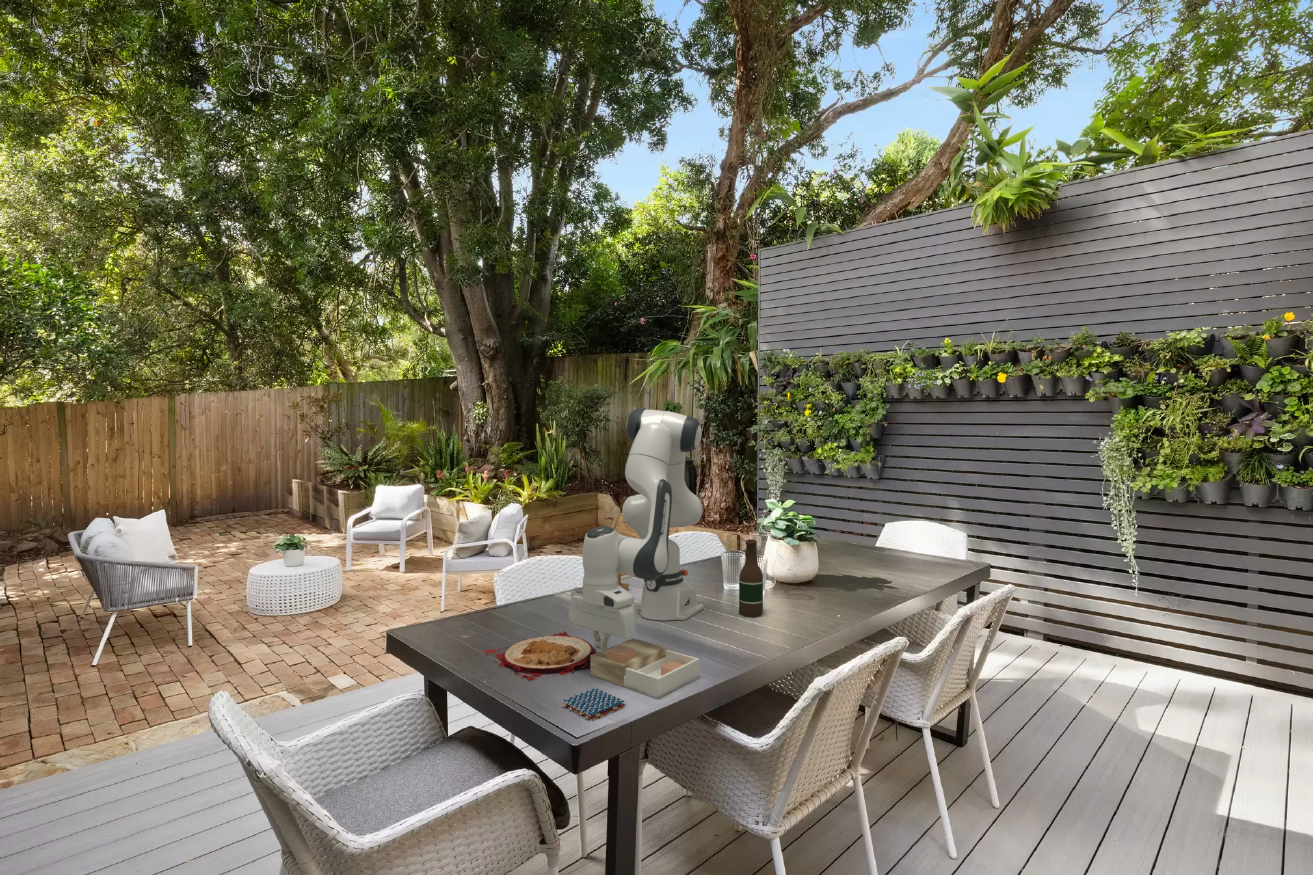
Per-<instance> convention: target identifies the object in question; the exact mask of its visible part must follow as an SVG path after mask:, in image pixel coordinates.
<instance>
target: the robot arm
mask: <svg viewBox="0 0 1313 875" xmlns="http://www.w3.org/2000/svg"><path fill="white" fill-rule="evenodd" d="M625 424H626V425H625V430H626V431H625V433H626V437H627V438H628V439H629V440H630V442H632V444H631V447H630V450H629V452H628V453H629V454H628V456H627V460H626V463H625V469H624V476H625V479H626V481H627V484H628V486H630V487H631V488H632V490H634V491H635V492H637V493H638V494H636V495H635V494H634V495H631V496H628V497H627V498H626V499H625V500H624V502H623V505H622V511H621V514H622V517H623V520H624V522H625V524H627V525H628V527H630V528H631V529H633V530H634V531H635V533H636V534H637V535H638V536H639V538H636V537H631V536H626V535H623V534H620V533H618V532H617V531H616V528H615V529H614V528H612V527H609V526H605V525H604V526H596V527H594V528H591V529H589V530H587V532H585V536H584V540H583V546H582V567H583V572H584V573H583V576H582V588H580V587H575V588H573V589H572V590H571V591H570V600H569V605H568V615H567V618H568V621H569V624H572V625H575V626H579V627H583V628H585V629H589V630H590V635H591V638H592V640H593V646H594V647H593V648H596V649H601V650H605V649H607V648H608V641H609V640H610V637H611V636H613V637H618V638H621V639H628V638H630V637H632V636H633V635H634V634H635V632H636V612H635V608H634V606H633V604H634V603H635V596H634V594H633V593H631V592H630V591H628V590H627V591H626V590H625V589H624V588H622V587H621V586H620V585H618V577H617V574H619V573H621V575H626V576H629V577H636V578H638V579H640V580H643V581H644V584H643V586H642V592H641V593H642V594H641V605H639V607H638V608H639V609H638V610H639V611H640V617H643V618H645V619H648V620H652V621H685V620H688V619H690V618H691V617H693V616H694V615H696V614H697V613H699V612H701V611H702V610H704V608H705V606H704V604H702V603H700V602H697V593H696V590H695V588H692V587H691V586H690V585H689V584H688V583H686V581H685V580H684V577H687V576H688V575H689V570H688V569H684V568H683V569H680V568H681V567H680V566H681V564H680V563H681V558H680V557H681V556H680V554H681V553H680V552H681V550H680V547H679V545H678V543H677V542H675V541H674V540H672V539H671V538H669V537H670V528H685V527H689V526H690V527H691V526H693V525H696V524H698V523H699V522H700V520H701V518H702V516H703V505H702V501H701V500H700V498H699V496H697V495H696V494H694V492H692V491H691V490H690V489H689V488H688V486H687V482H686V481H685V480H686V479H685V469H686V468H685V467H686V456H687V453H691V452H692V451H694V450H696V449H697V448H698V445H699V444H700V442H701V440H702V435H703V433H702V424H701V423H700V421H699V419H698V418H696V417H694V416H692V415H691V416H690V415H684V414H681V413H677V412H673V411H669V410H665V411H664V410H660V409H659V410H657V409H647V407H646V408H645V407H643V408H641V407H640V408H639V407H638V408H635V409H633V410H632V411H630V414H629V415H628V418H627V420H626V423H625ZM683 576H684V577H683ZM601 637H602V638H601Z"/></svg>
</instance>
